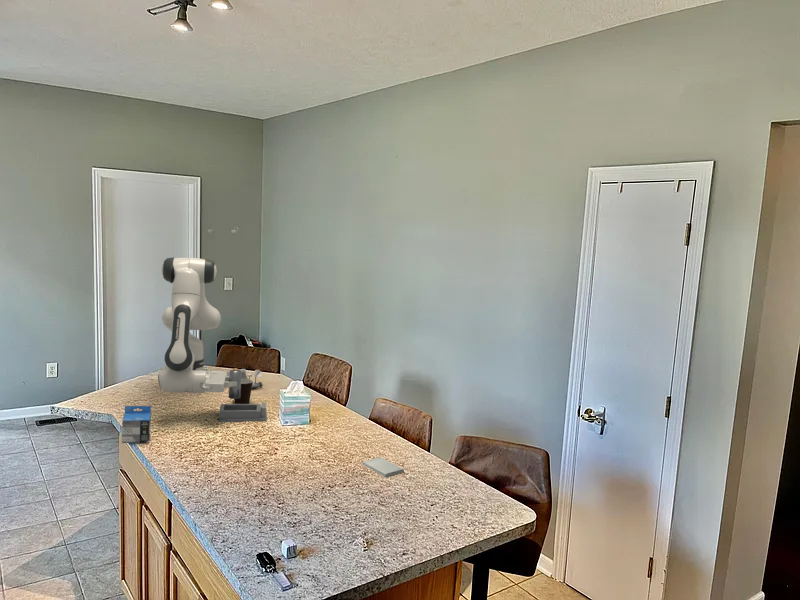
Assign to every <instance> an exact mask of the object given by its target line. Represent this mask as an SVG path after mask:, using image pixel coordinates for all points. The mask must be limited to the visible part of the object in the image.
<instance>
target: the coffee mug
mask: <svg viewBox="0 0 800 600" xmlns="http://www.w3.org/2000/svg"><path fill="white" fill-rule="evenodd" d="M253 382H254V381H253V379H251V378H250V379H249V378H248V379H241V392H240V398H239V399H233V402H234V403H233V404H250V401H251V395H252V388H253V387H252V383H253Z"/></svg>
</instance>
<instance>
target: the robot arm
mask: <svg viewBox="0 0 800 600" xmlns="http://www.w3.org/2000/svg"><path fill="white" fill-rule="evenodd" d="M217 268H218V267H217V265H216V263H215V262H214V260H211V259H207V258H205V259H204V258H199V257H173V256H172V257H166V259H164V261H163V264H162V266H161V274H162V276H163V279H164V280H165V281H166V282H168V283H170V284H172V288H171V298H170V300H171V301H170V302H171V306H168V307H166V308H165V310H164V311H163V312H162V317H161V318H162V320H161V321H162V323H163V325H164V326H165V328H167V329H169V331H170V332H171V339H170V344H169V346H168V348H167V350H166V351H165V354H164V363H165V365H164V366H163V367H162V369H161V370H160V371H159V372H158V375H157V380H158V386H159V388H160V389H161V391H163V392H168V393H180V394H181V393H186V392H187V393H188V392H189V393H197V394H198V393H201V394H202V393H203V394H204V393H206V392H208V393H223V392H224V391H225V388H229V387H232V386H237V381H233V382H229V376H227V372H226V371H222V370H209V368H205V367H204V366H205V360H204V359H205V358H204V342H203V340H201V339H200V338H198V337H197V336H195V335H193V334H192V333H191V331H209V330H214V329H217V328H218V327H219V326H220V323H221V320H222V315H221V313H220V311H219V310H218V309H217V308H215V307H214V306H213V305H211V304H210V303H209V302H208V300H207V297H206V291H205V289H206V288H205V287H206V286H205V284H212V283H213V282H214V281H215V279H216V277H217V273H218V270H217Z"/></svg>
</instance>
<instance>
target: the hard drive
mask: <svg viewBox="0 0 800 600" xmlns="http://www.w3.org/2000/svg"><path fill="white" fill-rule="evenodd" d="M361 465H363V466H364V465H365V467H366V468H368V469H370V470H371V469H372V471H373V472H375V473H377V474H378V475H380V476H382V477H384V478H387V477H390V476H395V475H399V474H402V473H404V472H405V469H404V468H402V467H400V466H398V465H396V464H394V463H393V462H391V461H389V460H387V459H385V458H383V457H381V456H380V457H375V458H371V459H368V460H363V461H362V464H361Z"/></svg>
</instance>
